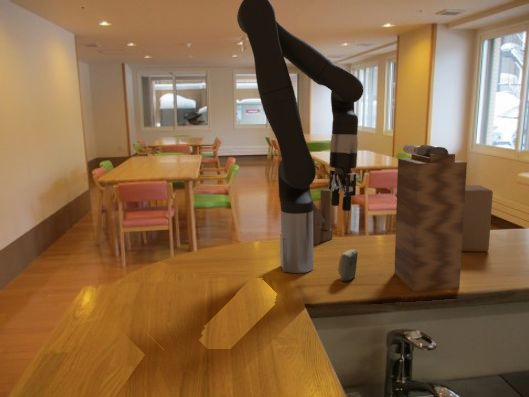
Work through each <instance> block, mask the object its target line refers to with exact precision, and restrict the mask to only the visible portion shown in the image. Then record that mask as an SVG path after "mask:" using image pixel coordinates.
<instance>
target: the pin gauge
mask: <svg viewBox="0 0 529 397" xmlns="http://www.w3.org/2000/svg"><path fill="white" fill-rule="evenodd" d="M402 149H403V150H402V151H403V152H404V153H406V154H417V155H422V156H427V157H430V155H432V154H450V153H449V151H448V149H447V148H446V147H442V146H437V145H436V146H435V145H428V144H422V145H415V144H404V146H403V148H402Z"/></svg>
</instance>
